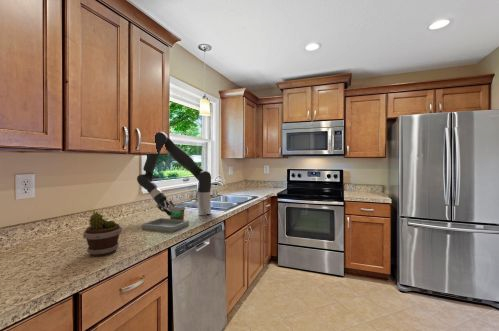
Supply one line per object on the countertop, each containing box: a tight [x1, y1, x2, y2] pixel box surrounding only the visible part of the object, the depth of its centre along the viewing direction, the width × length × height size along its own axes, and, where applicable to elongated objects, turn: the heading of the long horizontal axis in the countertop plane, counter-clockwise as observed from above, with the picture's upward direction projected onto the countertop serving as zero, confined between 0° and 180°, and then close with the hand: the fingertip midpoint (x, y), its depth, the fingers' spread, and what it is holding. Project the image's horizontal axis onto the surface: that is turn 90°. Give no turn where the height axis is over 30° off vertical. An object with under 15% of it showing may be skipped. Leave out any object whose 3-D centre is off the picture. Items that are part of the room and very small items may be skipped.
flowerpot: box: [82, 210, 123, 257], centre depth 108 cm, size 14×15×20 cm
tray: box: [141, 217, 190, 233], centre depth 149 cm, size 16×22×3 cm
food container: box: [167, 205, 186, 220], centre depth 163 cm, size 12×6×10 cm, turn 71°
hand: (172, 213), depth 164 cm, fingers closed on food container, 5 cm apart
